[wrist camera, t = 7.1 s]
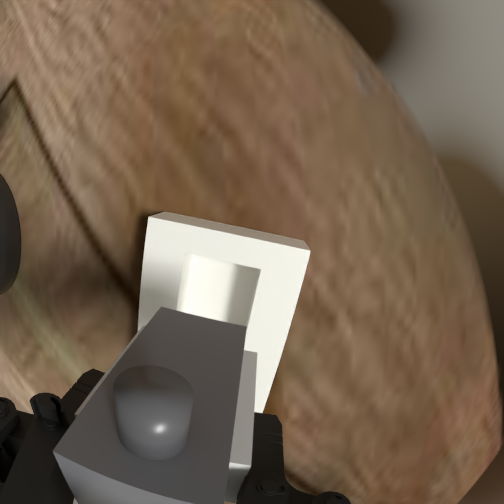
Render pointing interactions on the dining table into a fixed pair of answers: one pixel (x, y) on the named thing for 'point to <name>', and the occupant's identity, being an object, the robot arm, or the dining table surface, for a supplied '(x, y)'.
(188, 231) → the socket
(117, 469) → the plug
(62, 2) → the dining table surface
